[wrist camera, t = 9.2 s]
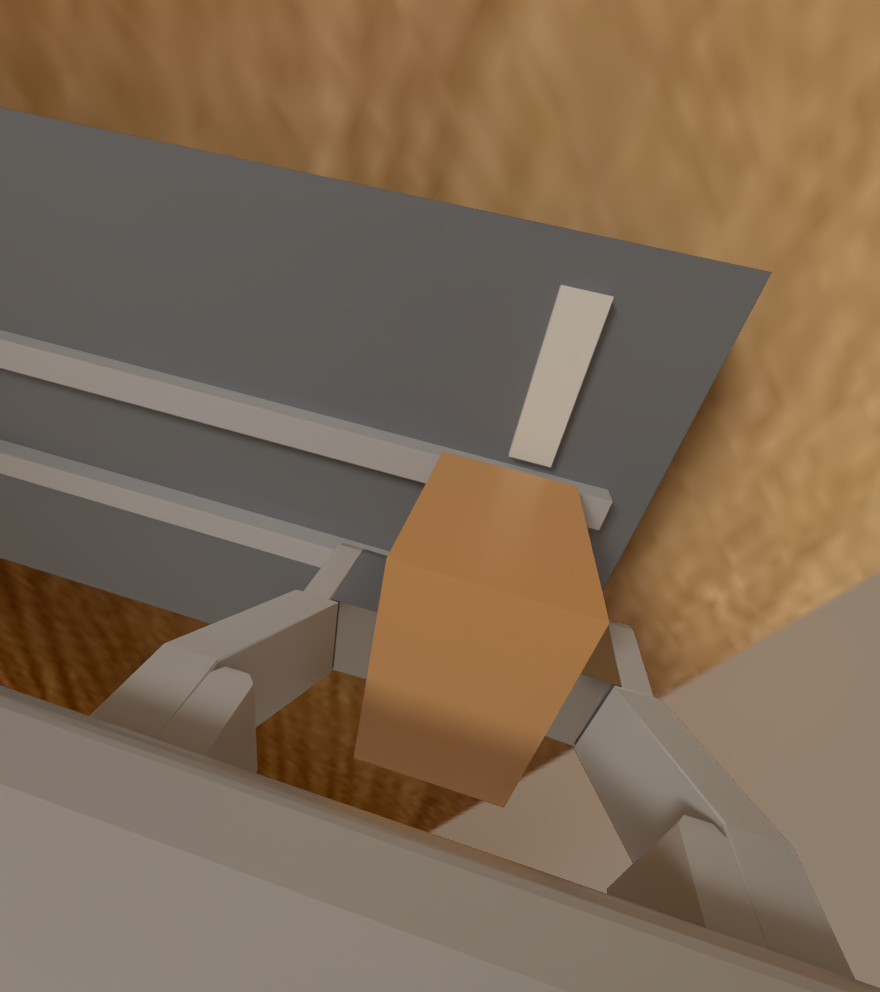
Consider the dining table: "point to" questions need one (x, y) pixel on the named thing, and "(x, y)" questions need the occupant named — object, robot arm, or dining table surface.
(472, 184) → the dining table surface
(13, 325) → the fader console
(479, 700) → the fader tab
